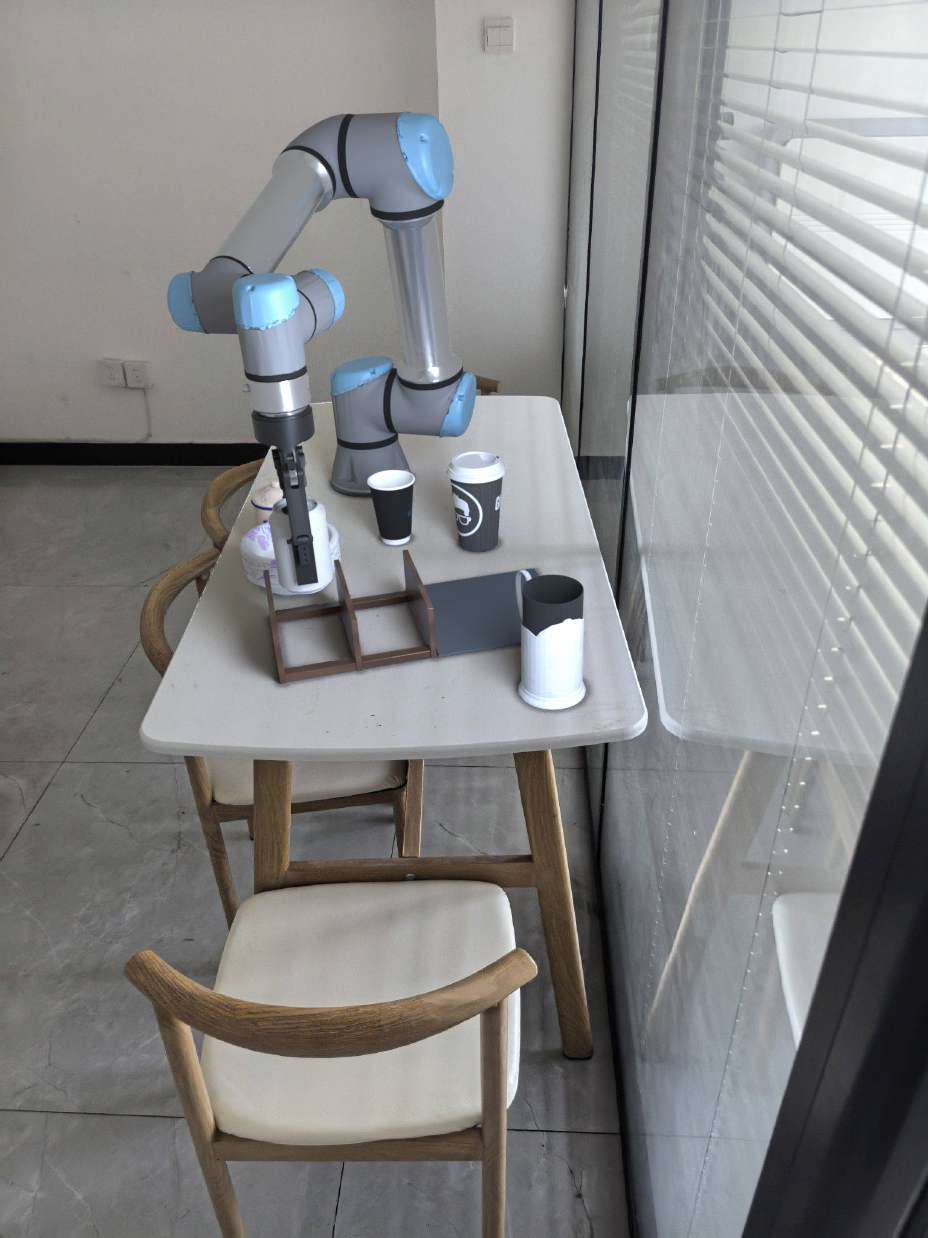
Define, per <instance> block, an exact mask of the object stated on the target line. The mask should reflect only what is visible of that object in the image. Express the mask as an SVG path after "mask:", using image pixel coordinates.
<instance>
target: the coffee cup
mask: <svg viewBox="0 0 928 1238" xmlns="http://www.w3.org/2000/svg"><path fill="white" fill-rule="evenodd" d="M506 473H507V469H506V465H505V463H504V462H503V461H502V459H501V456H500V455H499V454H497V453H495V452H493V451H489V450H481V449H479V450H478V449H477V450H476V449H475V450H466V451H462V452H459V453H457V454H455V455H453V456H452V457H451V460H450V463H449V464H448V466H447V469H446V475H447V477H448V478H449V480H450V487H451V493H452V494H451V495H452V500H453V501H452V502H453V508H454V517H455V523H456V531H457V537H458V544H459V547H460V548H461V549H462V550H464V551H467V552H471V553H472V552H473V553H482V552H483V553H484V552H488V551H490V550H493V549H495V548H496V547H497V546H498V543H499V532H500V531H499V530H500V517H501V516H500V515H501V503H502V502H501V501H502V489H503V477H504V476H505V474H506Z"/></svg>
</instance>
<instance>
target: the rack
mask: <svg viewBox="0 0 928 1238" xmlns="http://www.w3.org/2000/svg"><path fill="white" fill-rule="evenodd" d="M402 558H403V559H402V560H403V573H404V584H405V585H404V586H405V590H399V591H392V592H387V593H379V594H374V595H368V596H361V597H353V598H351V594H350V592H349V591H350V590H349V588H348V585H347V581H346V577H345V574H344V571H343V567H342V565H341V564H342V563H341V564H340V561H339V559H338V560H334V566H335V572H334V573H335V574H334V575H335V582H336V591H337V597H338V600H335V601H328V602H322V603H321V602H320V603H316V604H315V603H314V604H308V605H302V606H296V607H295V606H294V607H289V608H282V609H276V606H275V601H274V595H273V594H274V593H272V588H271V582H270V576H269V570H263V574H264V581H265V588H266V589H265V588H264V589H265V595H266V601H267V608H268V614H269V622H270V628H271V635H272V641H273V646H274V654H275V659H276V665H277V671H278V678H279V682H280V684H286V683H289V682H294V681H301V680H307V679H312V678H313V679H314V678H318V677H319V678H320V677H324V676H325V677H326V676H330V675H331V676H332V675H338V674H343V673H349V672H354V671H357V672H358V671H359V672H361V671H363V670H367V669H372V668H377V667H384V666H391V665H396V664H397V665H398V664H402V663H408V662H415V661H420V660H427V659H436V658H437V657H438V654H437V651H436V639H435V623H434V608H433V606H432V604H431V601H430V599H429V597H428V594H427V592H426V590H425V588H424V585H425V584H424V583H423V581H422V579H421V576H420V574H419V572H418V570H417V567H416V565H415V563H414V561H413V558H412V556H411V554H410V551H409V550H408V549H403V550H402ZM406 603H408V604H409V607H410V609H411V612H412V614H413V616H414V619H415V622H416V624H417V627H418V630H419V632H420V634H421V637H422V639H423V642H424V645H420V646H413V647H407V648H401V649H397V650H396V649H394V650H389V651H383V652H377V653H370V654H365V655H362V651H361V642H360V633H359V623H358V618H357V615H356V611H359V610H366V609H373V608H380V607H385V606H392V605H398V604H406ZM335 614H341V618H342V621H343V625H344V628H345V632H346V636H347V640H348V643H349V647H350V651H351V654H352V655H351V656H352V657H347V658H346V657H345V658H340V659H334V660H329V661H328V660H327V661H322V662H316V663H309V664H304V665H297V666H291V667H287V668H285V663H284V658H283V651H282V645H281V638H280V633H279V632H280V631H279V626H278V623H282V622H290V621H296V620H302V619H303V620H304V619H309V618H314V617H321V616H327V615H335Z"/></svg>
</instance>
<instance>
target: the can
mask: <svg viewBox="0 0 928 1238" xmlns="http://www.w3.org/2000/svg"><path fill="white" fill-rule="evenodd" d="M306 498H307V505H308V512H309V518H310V525H311V532H312V536H313V538H314V540H313V547H314V554H315V561H316V568H317V576H318V583H314V584H307V585H301V586H298V583H297V576H296V569H295V563H294V556H293V550H292V544H288V545H287V541H286V540H288V539H291V537H292V534H291V528H290V522H289V516H288V510H287V503H286V498H284V499H282V500H279V501H277V502H276V503H275V504H274V505H273V507H272V513H271V515H270V516H269V524H270V530H271V536H272V542H273V548H274V554H275V561H276V567H277V573H278V579H279V584H280V585H281V586H282V587H283V588H285V589H287V590H288V591H289V592H292V593H295V594H299V595H310V594H315V593H317V592H320V591H322V590H323V589H325V588H326V587H328V585H329V584H330V583H331V582H332V581H333V579H334V575H335V574H334V573H333V567H332V559H331V552H330V544H329V536H328V528H327V522H328V520H327V512H326V513H325V510H324V509H322V508H321V507H320V506H319V505H320V504H319V502H320V501H319V500H318V499H316V498H315V497H312V496H308V495H306Z"/></svg>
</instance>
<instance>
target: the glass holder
mask: <svg viewBox="0 0 928 1238" xmlns="http://www.w3.org/2000/svg"><path fill="white" fill-rule="evenodd" d="M517 571H518V572H517V574H516V596H517V603H518V608H519V613H520V617H521V620H522V622H521V644H520V646H521V649H520V650H521V651H520V652H521V653H520V654H521V657H520V658H521V680H520V682H519V684H518V687H517V688H518V689H517V691H518V694H519V695H518V696H520V698H521V699H522V700H523V701H524V702H525V703H527V704H528V705H530V706H533V707H535V708H538V709H542V710H550V711H551V710H552V711H553V710H563V709H567V708H571V707H573V706H575V705H577V704H578V703H580V702H581V701H582V700H583V699H584V697H585V695H586V691H587V689H586V685H585V683H584V680H583V679H584V678H583V677H584V675H583V674H584V672H583V671H584V645H585V642H584V641H585V617H584V600H585V599H584V598H585V597H584V596H585V594H584V593H585V589H584V585H583V584H582V583H581V581H579V580H577V579H575V578H574V577H571V576H567V575H562V574H554V573H553V574H542V575H539V576H538V577H534V578H531V576H530V574H529V573H528V572H527V571H526V569H520V570H517ZM522 574H523V575H524V576H525V578H526V580H527V582H526V583H525V584H524V585H523V588H522V594H521V575H522Z"/></svg>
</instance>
